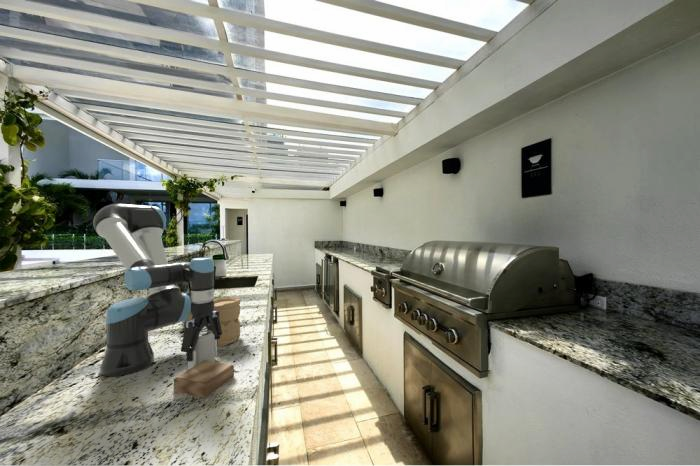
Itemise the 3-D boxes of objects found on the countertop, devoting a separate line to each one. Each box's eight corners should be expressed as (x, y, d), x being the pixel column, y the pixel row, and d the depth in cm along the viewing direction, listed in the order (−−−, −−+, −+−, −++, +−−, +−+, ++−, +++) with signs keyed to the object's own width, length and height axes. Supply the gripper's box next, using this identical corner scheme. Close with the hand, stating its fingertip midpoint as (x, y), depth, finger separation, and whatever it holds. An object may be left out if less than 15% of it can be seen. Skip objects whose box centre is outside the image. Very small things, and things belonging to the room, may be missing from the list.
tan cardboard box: (173, 391, 83) (173, 377, 83) (204, 371, 94) (204, 359, 94) (206, 398, 80) (205, 383, 80) (234, 376, 91) (233, 364, 91)
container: (225, 348, 113) (225, 305, 113) (202, 344, 117) (201, 302, 117) (246, 337, 125) (246, 297, 125) (224, 333, 129) (224, 295, 129)
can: (204, 371, 95) (204, 337, 94) (186, 369, 96) (185, 335, 96) (219, 361, 102) (219, 329, 102) (201, 359, 103) (201, 328, 103)
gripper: (185, 310, 87) (186, 380, 87) (232, 294, 108) (232, 350, 108) (166, 308, 89) (167, 376, 89) (216, 293, 110) (216, 348, 110)
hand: (203, 362), depth 99 cm, fingers open, 9 cm apart
